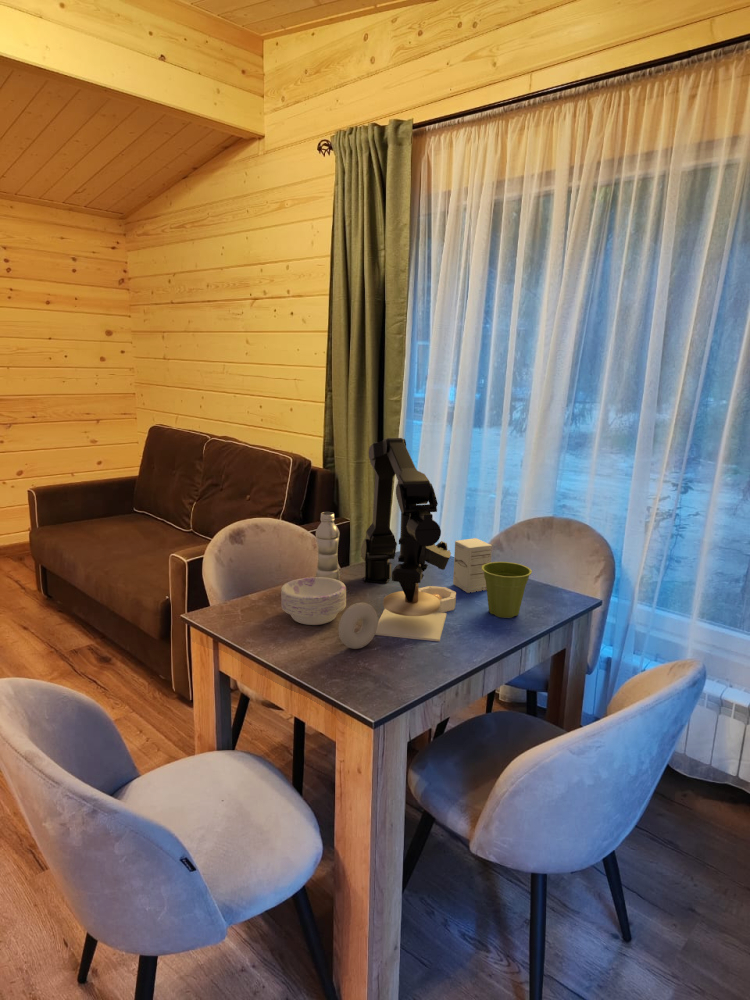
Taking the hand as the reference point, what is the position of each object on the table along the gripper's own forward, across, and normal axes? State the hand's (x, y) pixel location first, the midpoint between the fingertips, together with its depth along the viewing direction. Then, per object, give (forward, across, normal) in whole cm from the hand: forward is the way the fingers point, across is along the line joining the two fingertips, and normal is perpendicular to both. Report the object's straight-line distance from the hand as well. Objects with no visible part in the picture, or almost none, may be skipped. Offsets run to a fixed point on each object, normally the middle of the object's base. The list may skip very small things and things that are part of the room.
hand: (411, 598), depth 146 cm
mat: (+6, 0, 0) cm, 6 cm away
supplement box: (+7, +28, -12) cm, 32 cm away
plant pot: (+6, +12, -21) cm, 25 cm away
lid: (+2, 0, 0) cm, 2 cm away
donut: (+6, -15, +9) cm, 18 cm away
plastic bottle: (+7, +20, +26) cm, 34 cm away
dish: (+6, +13, -4) cm, 15 cm away
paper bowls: (+7, -2, +23) cm, 24 cm away
